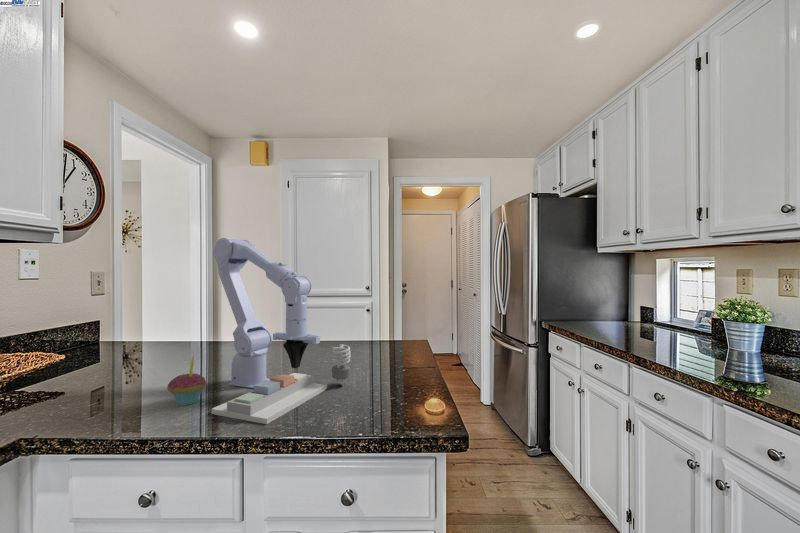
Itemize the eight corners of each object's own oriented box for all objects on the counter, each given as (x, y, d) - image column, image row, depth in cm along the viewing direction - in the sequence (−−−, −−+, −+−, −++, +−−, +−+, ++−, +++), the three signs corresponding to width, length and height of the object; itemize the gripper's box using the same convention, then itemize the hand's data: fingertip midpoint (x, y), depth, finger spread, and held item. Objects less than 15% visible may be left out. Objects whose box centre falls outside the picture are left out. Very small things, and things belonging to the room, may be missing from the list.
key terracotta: (269, 386, 97) (270, 378, 97) (280, 381, 101) (280, 373, 101) (283, 388, 95) (283, 380, 95) (294, 383, 99) (294, 375, 99)
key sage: (235, 408, 85) (235, 398, 85) (248, 401, 89) (248, 392, 89) (250, 410, 84) (250, 401, 84) (263, 404, 88) (263, 394, 88)
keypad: (211, 413, 86) (211, 399, 86) (280, 382, 110) (280, 371, 110) (266, 424, 81) (266, 408, 81) (327, 389, 104) (327, 377, 104)
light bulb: (346, 388, 104) (347, 346, 104) (328, 387, 105) (328, 345, 105) (353, 382, 110) (353, 342, 110) (335, 381, 111) (335, 341, 111)
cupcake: (213, 398, 96) (213, 353, 96) (185, 410, 88) (185, 360, 88) (188, 394, 99) (189, 350, 99) (159, 405, 91) (159, 357, 91)
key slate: (253, 394, 91) (253, 385, 91) (265, 388, 95) (265, 380, 95) (268, 396, 89) (268, 387, 89) (279, 390, 94) (279, 382, 94)
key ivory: (284, 384, 102) (284, 377, 102) (294, 380, 106) (294, 372, 106) (297, 386, 101) (297, 378, 101) (307, 382, 105) (307, 374, 105)
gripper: (265, 319, 102) (265, 368, 102) (310, 322, 97) (309, 373, 97) (282, 316, 109) (281, 361, 109) (324, 319, 104) (323, 367, 104)
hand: (295, 367), depth 104 cm, fingers closed
